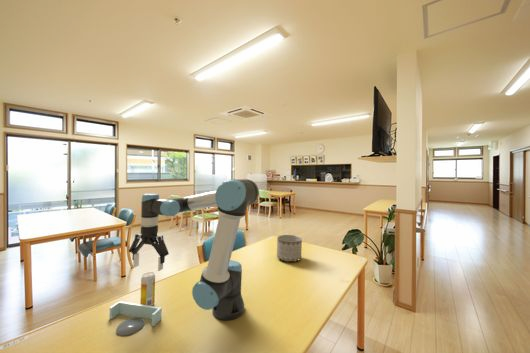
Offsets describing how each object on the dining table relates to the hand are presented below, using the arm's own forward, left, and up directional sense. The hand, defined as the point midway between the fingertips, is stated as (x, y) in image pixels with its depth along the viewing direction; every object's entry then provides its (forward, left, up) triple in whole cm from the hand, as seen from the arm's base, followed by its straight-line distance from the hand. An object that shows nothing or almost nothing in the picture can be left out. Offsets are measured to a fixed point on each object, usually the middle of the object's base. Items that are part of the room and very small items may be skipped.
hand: (148, 268), depth 107 cm
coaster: (-4, +15, -18) cm, 24 cm away
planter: (-64, -78, -18) cm, 103 cm away
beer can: (0, 0, -18) cm, 18 cm away
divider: (-2, +10, -18) cm, 21 cm away
